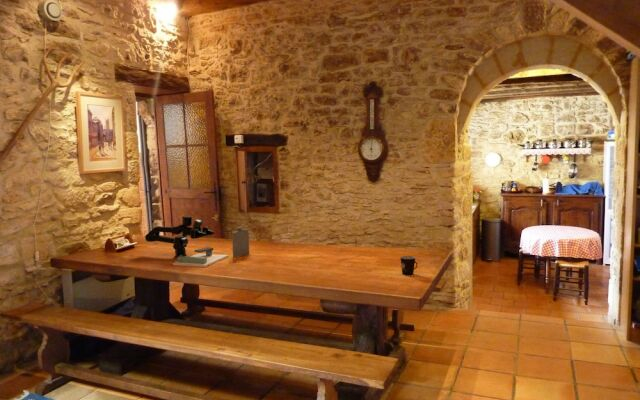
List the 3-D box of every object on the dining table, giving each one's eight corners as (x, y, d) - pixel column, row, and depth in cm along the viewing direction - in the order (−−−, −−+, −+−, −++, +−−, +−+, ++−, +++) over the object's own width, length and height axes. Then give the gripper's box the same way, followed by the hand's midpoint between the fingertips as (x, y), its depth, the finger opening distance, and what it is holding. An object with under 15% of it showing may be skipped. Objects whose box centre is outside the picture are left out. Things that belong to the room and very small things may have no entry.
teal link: (176, 261, 321) (176, 255, 320) (180, 260, 325) (180, 254, 324) (203, 263, 314) (203, 257, 314) (207, 261, 319) (207, 255, 318)
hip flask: (235, 257, 336) (234, 229, 334) (231, 257, 338) (230, 228, 336) (250, 253, 350) (249, 225, 348) (245, 252, 352) (244, 225, 350)
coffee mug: (398, 272, 289) (398, 256, 288) (413, 272, 289) (413, 255, 288) (403, 277, 277) (403, 260, 276) (418, 277, 278) (418, 259, 277)
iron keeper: (200, 258, 331) (200, 251, 331) (194, 257, 335) (194, 250, 334) (213, 255, 340) (213, 248, 340) (207, 254, 344) (207, 247, 343)
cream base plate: (172, 265, 318) (172, 263, 318) (198, 255, 347) (198, 253, 347) (205, 267, 311) (205, 265, 310) (228, 256, 340) (228, 255, 340)
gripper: (183, 221, 328) (203, 223, 323) (199, 218, 346) (218, 220, 341) (182, 237, 329) (202, 240, 324) (198, 234, 347) (217, 236, 342)
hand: (210, 233), depth 333 cm, fingers open, 9 cm apart
